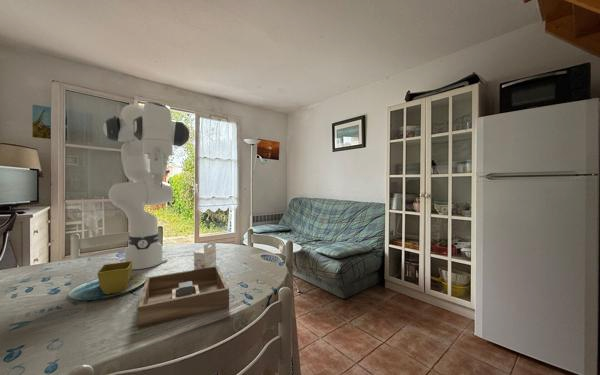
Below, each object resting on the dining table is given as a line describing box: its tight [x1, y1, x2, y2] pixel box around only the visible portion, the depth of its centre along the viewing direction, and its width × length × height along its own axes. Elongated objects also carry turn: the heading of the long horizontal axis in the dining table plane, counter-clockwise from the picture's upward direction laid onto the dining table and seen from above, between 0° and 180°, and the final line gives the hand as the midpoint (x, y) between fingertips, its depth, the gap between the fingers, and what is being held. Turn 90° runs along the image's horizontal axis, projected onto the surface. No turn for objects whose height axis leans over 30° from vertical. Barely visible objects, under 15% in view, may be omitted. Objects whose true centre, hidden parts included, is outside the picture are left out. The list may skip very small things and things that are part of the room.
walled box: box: [137, 265, 230, 330], centre depth 79 cm, size 22×24×6 cm
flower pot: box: [97, 261, 133, 295], centre depth 85 cm, size 9×9×9 cm
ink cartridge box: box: [193, 240, 217, 270], centre depth 98 cm, size 9×5×15 cm, turn 168°
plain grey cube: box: [179, 281, 193, 297], centre depth 79 cm, size 4×4×4 cm
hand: (158, 189), depth 83 cm, fingers open, 8 cm apart
